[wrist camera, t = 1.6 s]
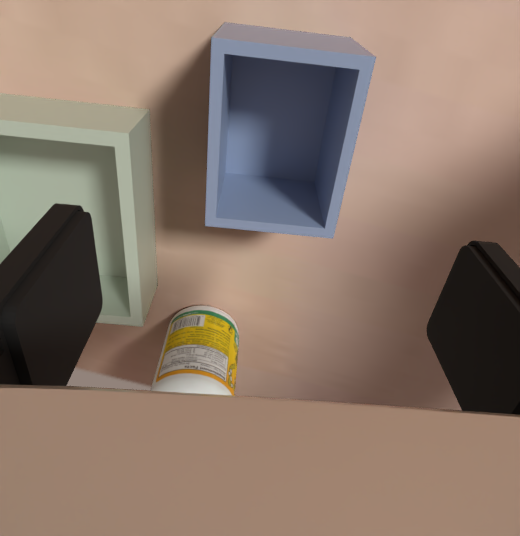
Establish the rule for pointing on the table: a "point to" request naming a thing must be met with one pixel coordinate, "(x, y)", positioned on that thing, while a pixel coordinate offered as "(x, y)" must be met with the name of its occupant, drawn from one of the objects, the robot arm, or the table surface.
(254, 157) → the small crate
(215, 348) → the supplement bottle
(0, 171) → the large crate
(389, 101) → the table surface
